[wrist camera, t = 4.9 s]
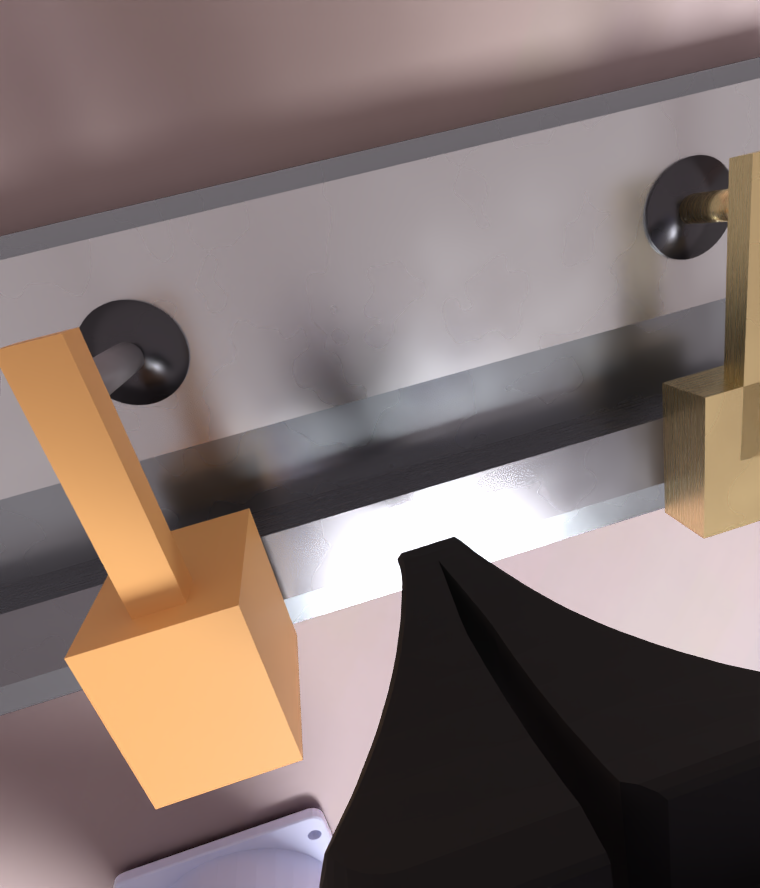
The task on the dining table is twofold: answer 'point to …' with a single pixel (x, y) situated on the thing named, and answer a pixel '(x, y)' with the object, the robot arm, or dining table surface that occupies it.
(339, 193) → the board
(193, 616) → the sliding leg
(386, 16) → the dining table surface
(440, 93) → the dining table surface
